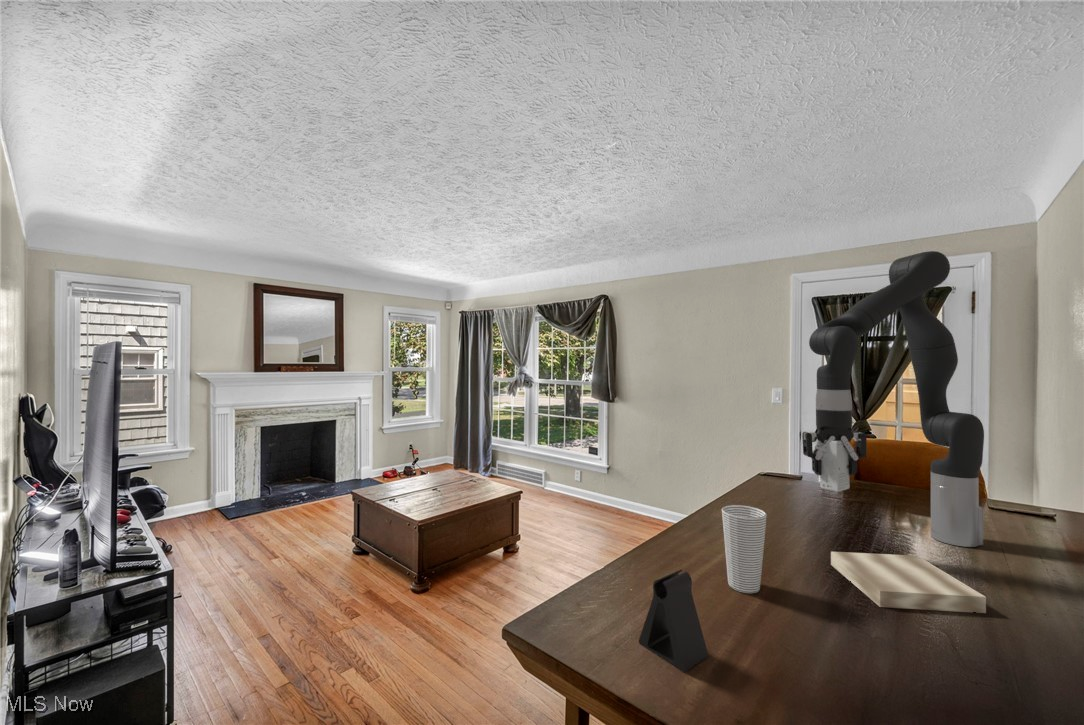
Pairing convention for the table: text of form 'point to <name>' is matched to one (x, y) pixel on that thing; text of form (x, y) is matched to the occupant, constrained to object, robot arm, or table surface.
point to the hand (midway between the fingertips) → (834, 474)
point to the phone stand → (674, 623)
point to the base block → (907, 582)
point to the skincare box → (834, 467)
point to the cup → (744, 546)
